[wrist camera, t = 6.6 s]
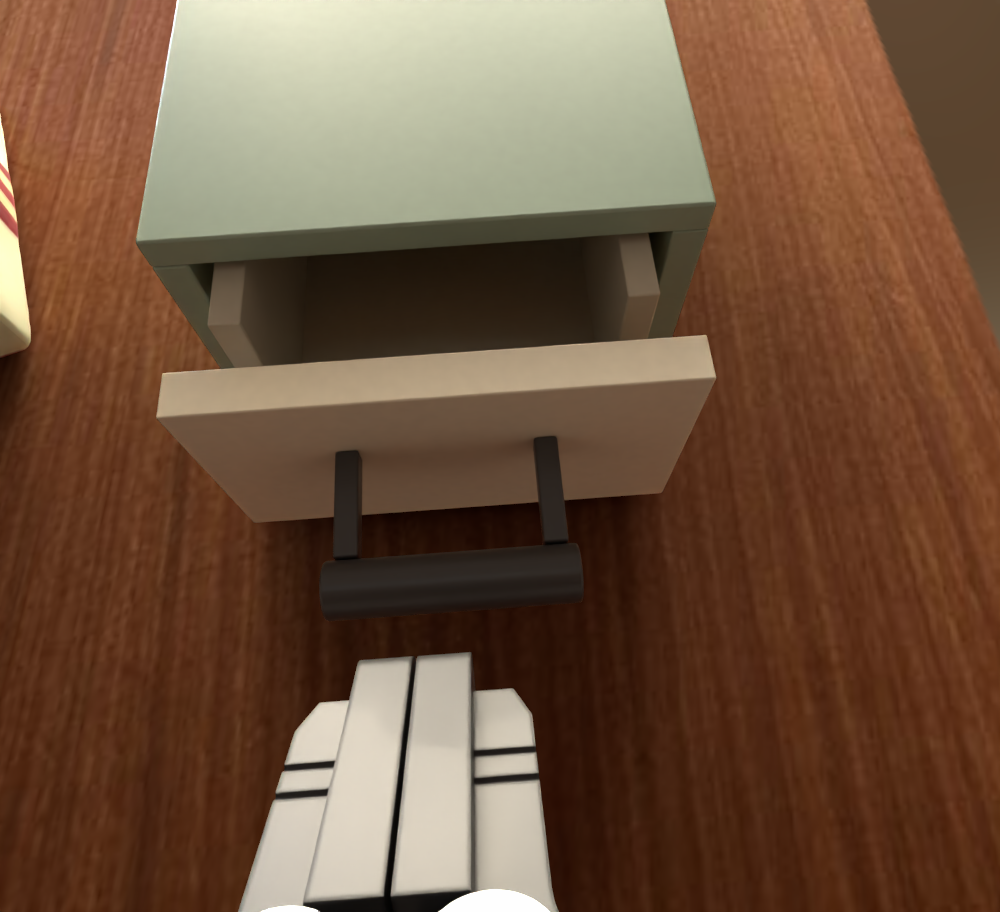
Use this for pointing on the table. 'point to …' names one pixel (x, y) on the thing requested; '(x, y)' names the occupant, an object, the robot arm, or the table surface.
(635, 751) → the table surface
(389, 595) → the drawer
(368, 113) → the cabinet
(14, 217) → the gift box
